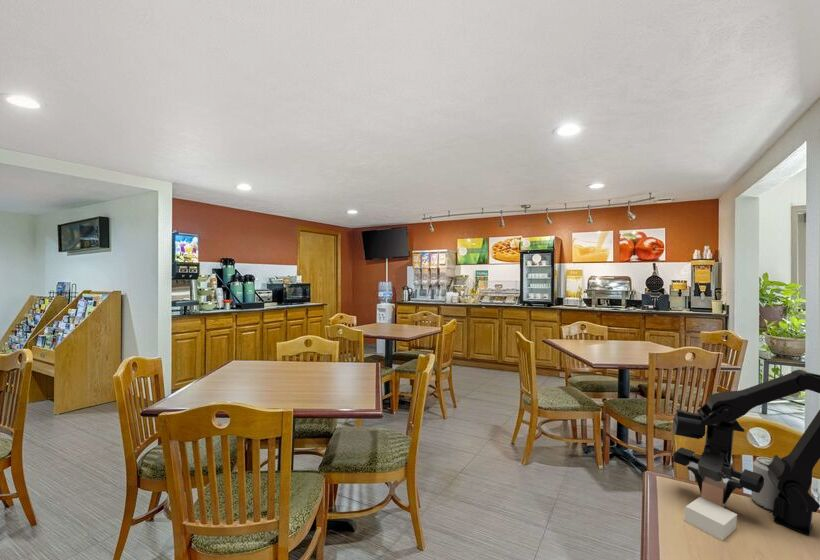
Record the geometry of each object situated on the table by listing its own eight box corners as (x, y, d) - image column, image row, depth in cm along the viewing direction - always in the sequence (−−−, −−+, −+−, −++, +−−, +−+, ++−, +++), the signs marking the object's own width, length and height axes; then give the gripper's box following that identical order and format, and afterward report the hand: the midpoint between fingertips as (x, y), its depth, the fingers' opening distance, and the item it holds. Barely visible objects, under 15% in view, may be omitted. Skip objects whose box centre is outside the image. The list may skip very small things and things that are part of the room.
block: (725, 505, 107) (727, 483, 107) (720, 511, 105) (723, 489, 104) (705, 496, 111) (707, 476, 110) (700, 502, 108) (702, 481, 108)
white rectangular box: (735, 529, 98) (737, 514, 98) (722, 541, 94) (724, 525, 93) (698, 511, 105) (699, 496, 104) (684, 521, 100) (685, 506, 100)
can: (796, 513, 105) (798, 468, 105) (769, 513, 104) (771, 467, 104) (769, 497, 112) (771, 455, 112) (743, 497, 112) (746, 454, 112)
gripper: (668, 437, 108) (663, 492, 109) (758, 467, 94) (751, 530, 95) (681, 427, 115) (676, 479, 117) (767, 453, 101) (760, 512, 102)
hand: (713, 498), depth 107 cm, fingers closed on block, 4 cm apart
